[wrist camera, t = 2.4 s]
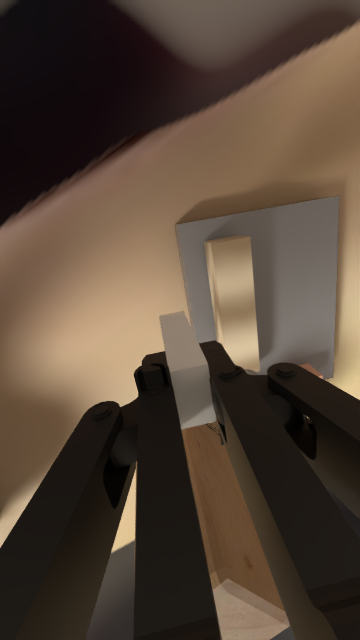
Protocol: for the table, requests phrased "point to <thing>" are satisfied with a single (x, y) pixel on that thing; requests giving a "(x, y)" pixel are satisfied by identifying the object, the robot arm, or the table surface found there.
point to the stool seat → (275, 279)
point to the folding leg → (234, 299)
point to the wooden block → (231, 544)
